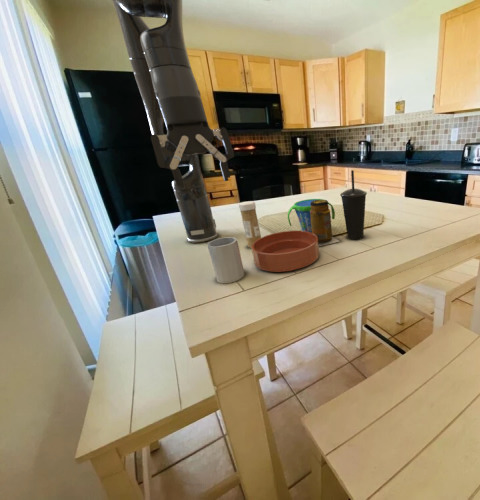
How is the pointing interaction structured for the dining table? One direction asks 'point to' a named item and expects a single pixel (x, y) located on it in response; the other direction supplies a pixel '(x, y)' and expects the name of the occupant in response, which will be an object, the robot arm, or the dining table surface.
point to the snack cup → (305, 213)
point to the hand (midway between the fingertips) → (205, 184)
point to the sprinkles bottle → (250, 221)
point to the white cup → (226, 259)
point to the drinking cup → (354, 211)
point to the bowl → (285, 250)
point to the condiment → (321, 222)
